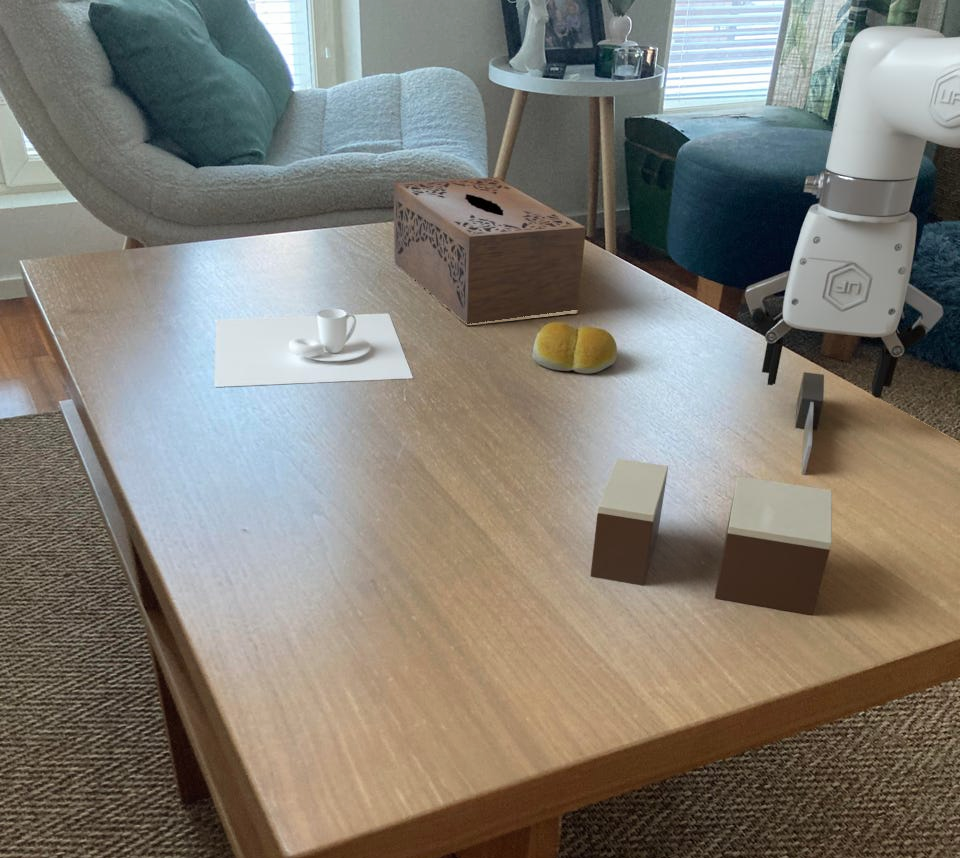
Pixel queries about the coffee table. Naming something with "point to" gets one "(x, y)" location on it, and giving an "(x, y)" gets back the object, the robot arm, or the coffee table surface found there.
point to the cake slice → (628, 521)
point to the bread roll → (574, 348)
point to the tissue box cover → (487, 248)
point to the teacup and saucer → (307, 349)
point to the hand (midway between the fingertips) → (823, 386)
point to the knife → (809, 410)
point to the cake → (776, 545)
